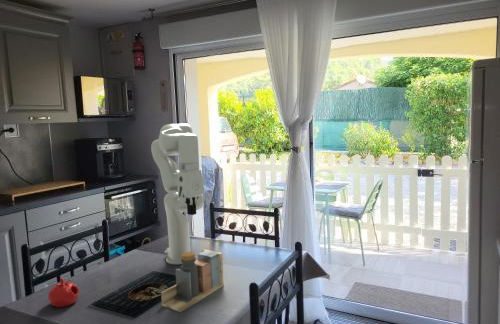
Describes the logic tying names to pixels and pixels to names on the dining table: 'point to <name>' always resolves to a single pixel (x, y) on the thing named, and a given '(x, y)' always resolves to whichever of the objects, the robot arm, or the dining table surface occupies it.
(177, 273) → the bookend
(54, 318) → the dining table surface
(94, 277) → the dining table surface
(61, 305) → the pomegranate
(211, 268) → the rack
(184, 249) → the robot arm
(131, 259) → the dining table surface
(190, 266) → the bottle
